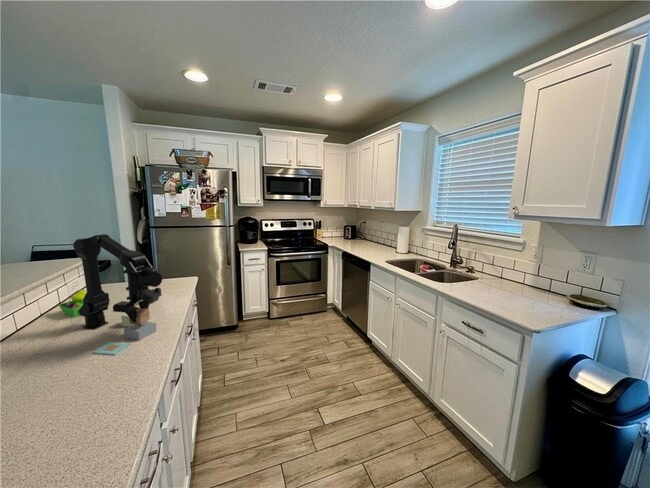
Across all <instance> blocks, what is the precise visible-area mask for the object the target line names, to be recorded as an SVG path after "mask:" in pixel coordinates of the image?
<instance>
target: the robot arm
mask: <svg viewBox="0 0 650 488" xmlns="http://www.w3.org/2000/svg"><path fill="white" fill-rule="evenodd" d="M72 247H73V249H74V252H75V254H76V256H78V257H79V258H80V259H81V262H82V269H83V275H84V283H85V288H86V295H85V296H84V298H83V306H82V307H81V308H80V309H79V311H78V312H79V315H80V317H84V322H85V325H83V326H82V329H89V330H97V329H98V328H101V327H103V326H104V325H106V324H108V323H109V322H108V321H106V316H105V312H104V311H107V310H108V309H109V305H110V302H111V300H110V295H109V293H108V292H106V291H104V290H103V288H102V282H101V275H100V274H101V273H100V268H99V262H98V257H99V255H100V253H102V252H101V251H102V249H103V250H104V251H106V252H108V253H109V254H111V255H113V256H114V257H115V258H117V259H118V260H119V264H120V265H122V267H123V268H125V269H124V270H123V271H122V273H123V274H127V287H125V291H128V296H127V297H126V300H127V301H126V300H125V301H123V300H122V301H119V302H117V303H115V304H113V305H112V310H113V311H112V312H113V313H115V312H116V313H124V314H127V315H128V316H129V318H130V319H131V320H132V321H133V322H136V311H137V309H138V308H147V309H150V308H149V307H150V305H151V304H154V303H155V302H157V301H159V297H161V296H162V288H160V287H159V286H160V285H161V284H162V282H163V276H162V274H161V273H159V272H158V269H153V266H152V264H151V263H150V262H149V260H148V258H147V256H146V255H145V254H144V253H143V252H139V251H137V250H132V249H129V248H127V247H126V246H124V245H122V244H121V243H119V242H118V241H116V240H115V239H114V238H112V237H111V236H110V235H108V234H106V233H105V234H104V233H103V234H95V235H93V236H91V237H85V238H77V239H76V240H75V241H74V242H73V244H72ZM149 287H152V289H150V288H149ZM153 288H154V289H153ZM136 303H138V304H139V305H138V306H137V305H136Z"/></svg>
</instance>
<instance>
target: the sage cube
mask: <svg viewBox="0 0 650 488" xmlns="http://www.w3.org/2000/svg"><path fill="white" fill-rule="evenodd" d="M120 316H121V317H120V318H121V325H122V327H129V326H131V325H133V324H130V323H129V316H128V315H127V314H126V313H124V314H122V315H120Z"/></svg>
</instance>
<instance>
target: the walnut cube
mask: <svg viewBox="0 0 650 488" xmlns="http://www.w3.org/2000/svg"><path fill="white" fill-rule="evenodd" d="M150 319H151V318H150V308H148V309H147V308H140V307H139V308H138V309H137V311H136V322H133V321H132V320H131V319H130V318H129V323H130V324H136V325H141V324H143V323H145V322H149V321H150Z"/></svg>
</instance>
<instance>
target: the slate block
mask: <svg viewBox="0 0 650 488" xmlns="http://www.w3.org/2000/svg"><path fill="white" fill-rule="evenodd" d="M157 331H158V329H157V322H156V323H155V322H150V321H147V322H145V323H143V324H141V325H136V324H133V325H131V326H126V327H125V328H123V335H124V338H127V339H131V340H136V341H141V340H143V339H145V338H147V337H149V336H150V335H152V334H154V333H157Z"/></svg>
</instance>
